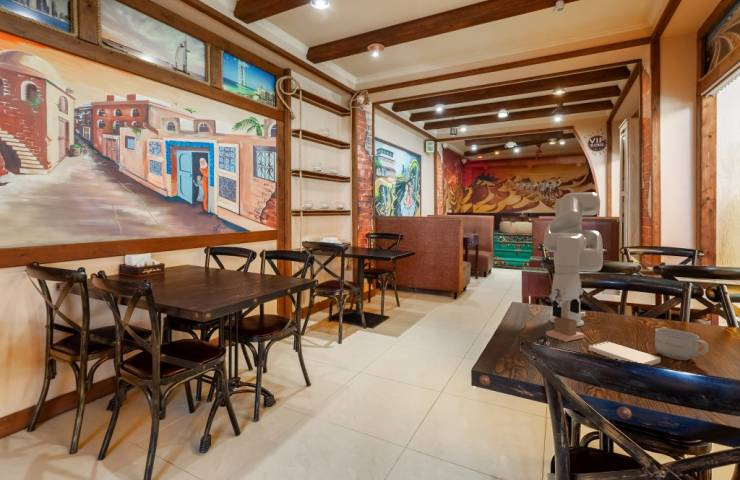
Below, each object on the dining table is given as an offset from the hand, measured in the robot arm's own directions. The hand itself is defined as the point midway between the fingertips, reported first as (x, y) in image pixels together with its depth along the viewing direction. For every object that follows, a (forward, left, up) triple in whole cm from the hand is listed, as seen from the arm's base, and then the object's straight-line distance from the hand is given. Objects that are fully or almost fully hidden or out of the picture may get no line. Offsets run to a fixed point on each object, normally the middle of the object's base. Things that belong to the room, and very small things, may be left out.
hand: (565, 314), depth 135 cm
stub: (+1, +1, -8) cm, 8 cm away
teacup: (-13, +30, -8) cm, 34 cm away
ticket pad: (+1, +21, -8) cm, 23 cm away
